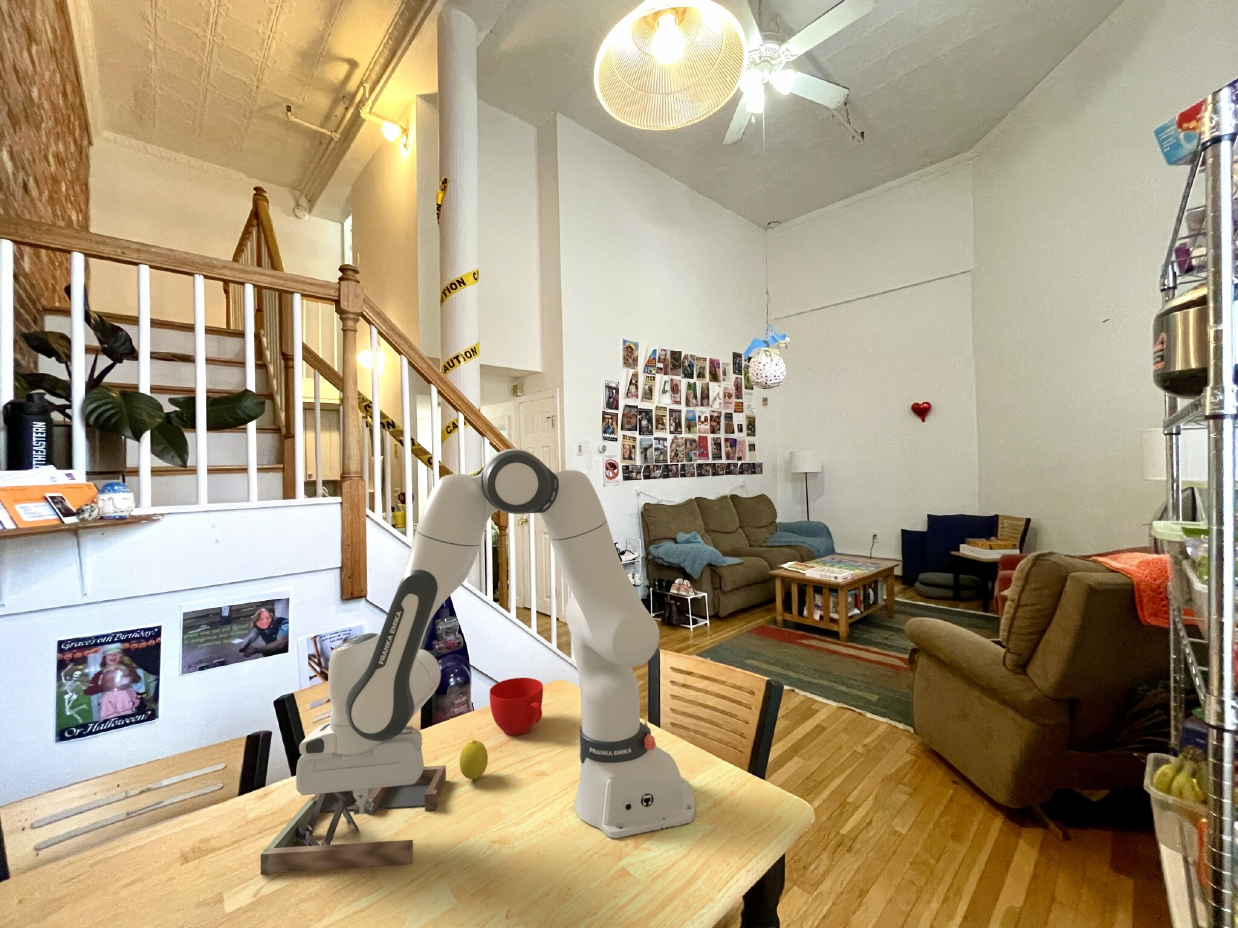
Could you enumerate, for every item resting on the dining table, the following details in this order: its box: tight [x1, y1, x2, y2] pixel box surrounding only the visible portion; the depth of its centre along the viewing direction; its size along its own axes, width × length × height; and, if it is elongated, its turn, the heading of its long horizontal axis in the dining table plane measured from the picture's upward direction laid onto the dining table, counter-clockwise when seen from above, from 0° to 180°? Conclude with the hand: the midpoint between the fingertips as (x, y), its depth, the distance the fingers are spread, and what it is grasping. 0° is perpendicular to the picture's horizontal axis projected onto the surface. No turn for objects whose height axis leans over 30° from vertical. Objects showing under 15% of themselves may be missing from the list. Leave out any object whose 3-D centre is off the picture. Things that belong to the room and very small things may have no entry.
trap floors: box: [320, 783, 430, 814], centre depth 98 cm, size 20×7×1 cm, turn 93°
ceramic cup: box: [489, 677, 544, 736], centre depth 123 cm, size 13×17×10 cm
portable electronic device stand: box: [296, 790, 360, 846], centre depth 88 cm, size 9×8×8 cm
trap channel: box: [260, 765, 447, 874], centre depth 92 cm, size 23×23×3 cm
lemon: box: [459, 739, 489, 781], centre depth 104 cm, size 6×6×8 cm
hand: (363, 811), depth 87 cm, fingers closed, pressing on portable electronic device stand
